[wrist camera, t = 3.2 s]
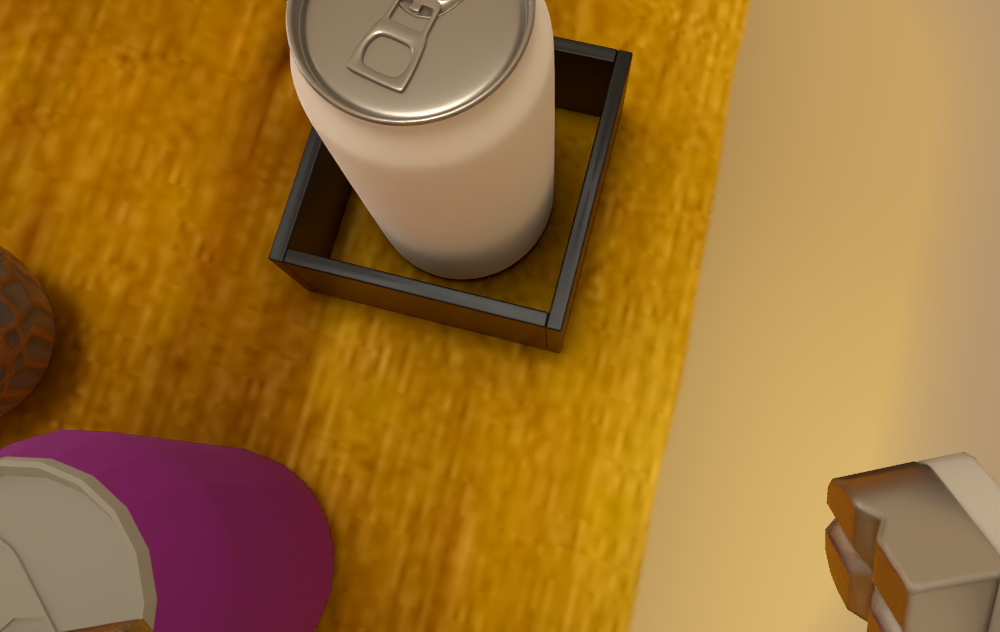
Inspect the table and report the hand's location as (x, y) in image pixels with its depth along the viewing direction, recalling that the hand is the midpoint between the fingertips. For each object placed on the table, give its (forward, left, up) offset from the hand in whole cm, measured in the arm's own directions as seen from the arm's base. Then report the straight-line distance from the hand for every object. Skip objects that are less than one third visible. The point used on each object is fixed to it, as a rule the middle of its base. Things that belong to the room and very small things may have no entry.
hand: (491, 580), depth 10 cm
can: (+7, +9, -18) cm, 22 cm away
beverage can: (-8, +7, -18) cm, 21 cm away
